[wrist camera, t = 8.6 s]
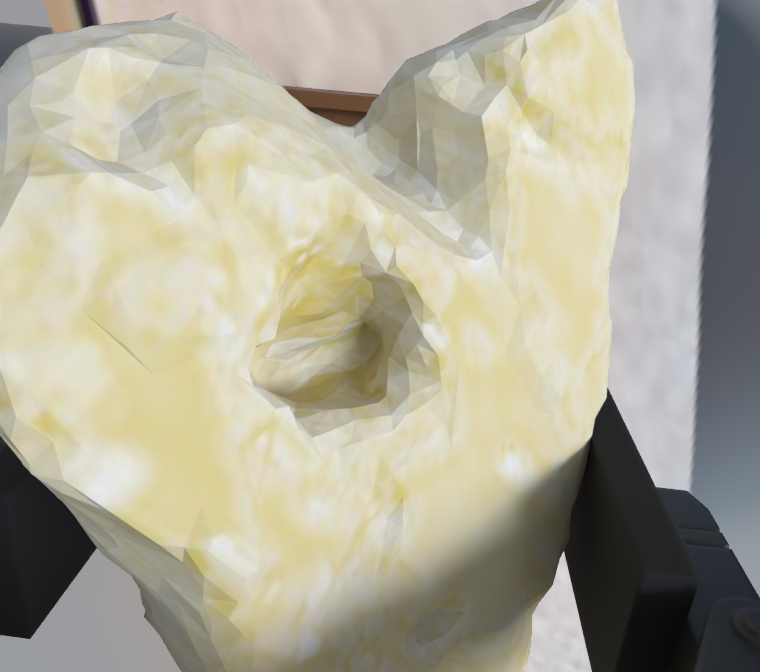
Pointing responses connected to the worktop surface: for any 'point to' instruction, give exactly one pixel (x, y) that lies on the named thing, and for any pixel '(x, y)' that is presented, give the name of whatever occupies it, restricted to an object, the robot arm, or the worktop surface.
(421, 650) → the cheese
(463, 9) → the worktop surface
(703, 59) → the worktop surface
